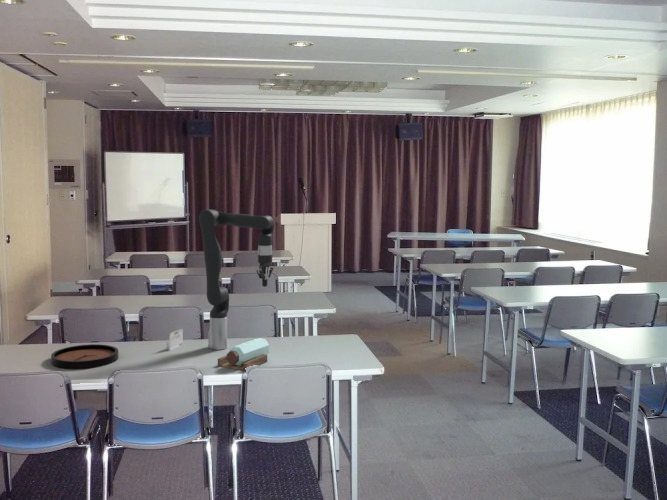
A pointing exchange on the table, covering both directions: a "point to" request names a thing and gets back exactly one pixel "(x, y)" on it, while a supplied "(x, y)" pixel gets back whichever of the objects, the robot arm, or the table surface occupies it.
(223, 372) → the table surface
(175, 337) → the ink cartridge box
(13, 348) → the table surface
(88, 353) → the wall clock
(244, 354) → the water bottle
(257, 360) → the cradle
